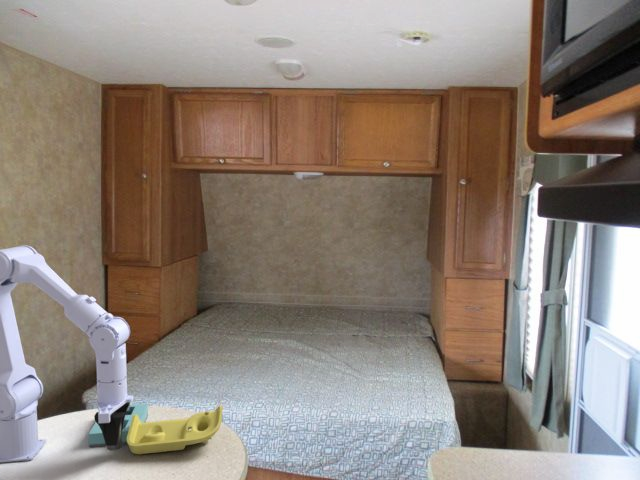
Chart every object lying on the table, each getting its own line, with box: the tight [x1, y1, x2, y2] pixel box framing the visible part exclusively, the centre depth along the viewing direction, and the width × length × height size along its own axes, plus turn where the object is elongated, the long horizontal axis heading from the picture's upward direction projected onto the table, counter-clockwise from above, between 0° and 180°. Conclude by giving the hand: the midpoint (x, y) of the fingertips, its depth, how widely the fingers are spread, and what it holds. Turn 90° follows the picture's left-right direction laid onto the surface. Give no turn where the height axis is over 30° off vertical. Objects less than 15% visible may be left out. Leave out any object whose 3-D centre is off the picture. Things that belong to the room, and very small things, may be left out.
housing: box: [88, 403, 149, 448], centre depth 116 cm, size 10×14×3 cm
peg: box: [105, 425, 123, 452], centre depth 104 cm, size 3×3×6 cm
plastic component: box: [127, 404, 224, 455], centre depth 110 cm, size 20×7×10 cm
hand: (114, 440), depth 104 cm, fingers closed on peg, 3 cm apart
